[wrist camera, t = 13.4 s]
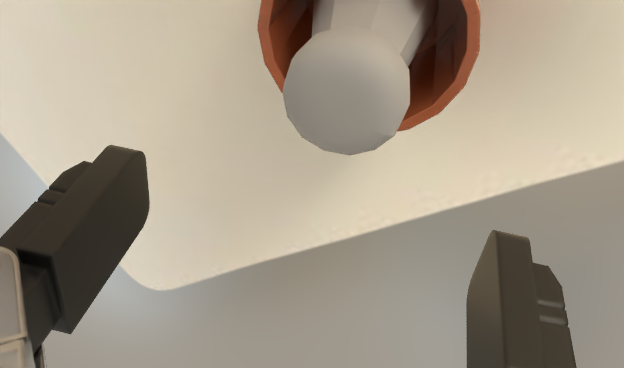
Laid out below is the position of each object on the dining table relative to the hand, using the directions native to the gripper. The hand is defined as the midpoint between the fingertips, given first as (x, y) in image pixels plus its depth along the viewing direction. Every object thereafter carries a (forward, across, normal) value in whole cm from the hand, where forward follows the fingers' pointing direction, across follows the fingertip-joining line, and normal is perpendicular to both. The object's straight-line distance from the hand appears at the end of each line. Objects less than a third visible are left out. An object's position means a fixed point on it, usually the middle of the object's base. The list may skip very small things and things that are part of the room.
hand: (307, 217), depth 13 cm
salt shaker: (+20, 0, +1) cm, 20 cm away
